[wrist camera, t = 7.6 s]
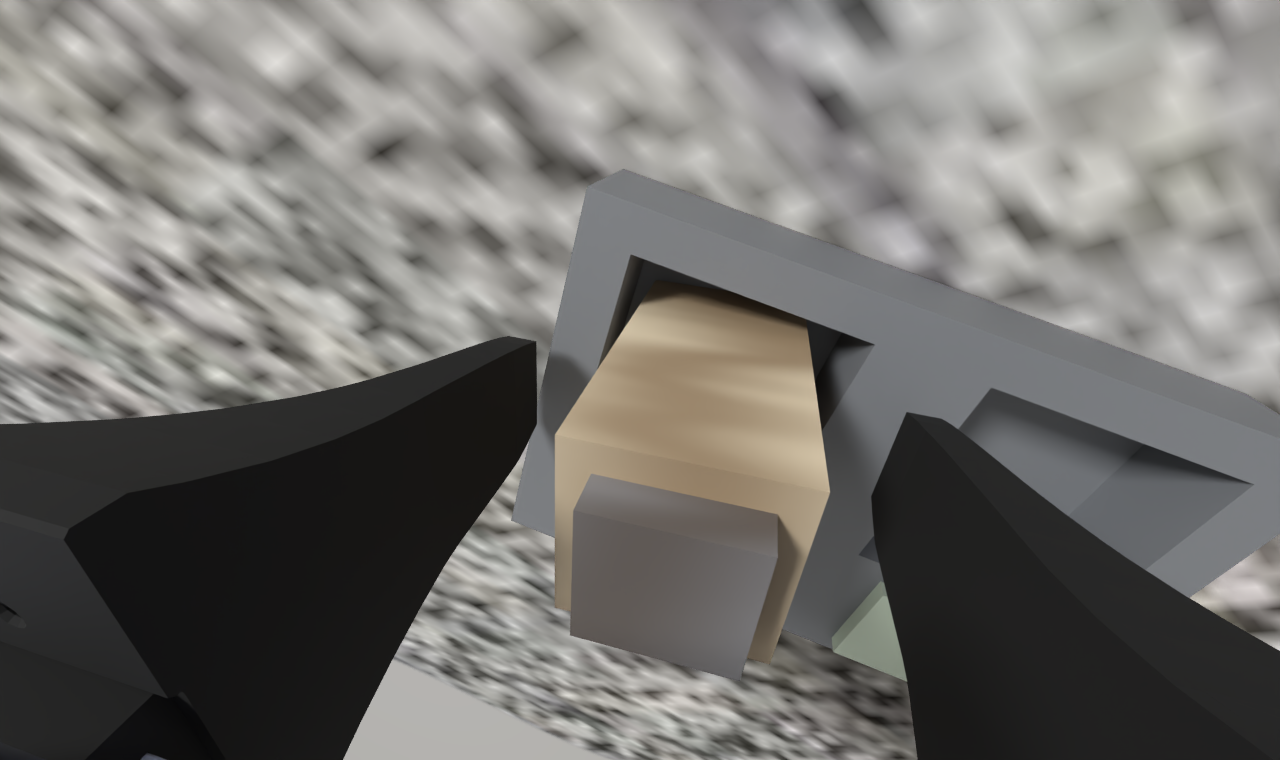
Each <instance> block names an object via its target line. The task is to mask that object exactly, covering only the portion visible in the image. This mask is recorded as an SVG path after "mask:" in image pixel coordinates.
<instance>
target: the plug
mask: <svg viewBox="0 0 1280 760" xmlns="http://www.w3.org/2000/svg"><path fill="white" fill-rule="evenodd" d="M829 494H830V488H829V480H828V473H827V466H826V459H825V452H824V445H823V437H822V430H821V423H820V416H819V409H818V402H817V395H816V387H815V380H814V373H813V366H812V359H811V352H810V344H809V337H808V330H807V323H806V319H805V318H802V317H799V316H796V315H794V314H791V313H788V312H786V311H783V310H780V309H778V308H775V307H772V306H769V305H767V304H764V303H761V302H759V301H756V300H753V299H750V298H748V297H745V296H742V295H740V294H737V293H734V292H731V291H725V290H719V289H712V288H706V287H699V286H693V285H687V284H680V283H674V282H667V281H661V280H656V281H655V282H654V284H653V285H652V287H651V288H650V290H649V291H648V293H647V294H646V296H645V297H644V299H643V300H642V302H641V304H640V305H639V307H638V308H637V310H636V311H635V313H634V314H633V316H632V317H631V319H630V320H629V322H628V323H627V325H626V327H625V328H624V330H623V331H622V333H621V334H620V336H619V337H618V339H617V340H616V342H615V343H614V345H613V346H612V348H611V350H610V351H609V353H608V354H607V356H606V357H605V359H604V360H603V362H602V363H601V365H600V366H599V368H598V369H597V371H596V373H595V374H594V376H593V377H592V379H591V380H590V382H589V383H588V385H587V386H586V388H585V389H584V391H583V392H582V394H581V396H580V397H579V399H578V400H577V402H576V403H575V405H574V406H573V408H572V409H571V411H570V412H569V414H568V415H567V417H566V419H565V420H564V422H563V423H562V425H561V426H560V428H559V429H558V431H557V432H556V434H555V608H559V609H563V610H567V611H571V622H570V635H571V636H575V637H579V638H582V639H586V640H590V641H593V642H597V643H601V644H604V645H608V646H612V647H615V648H619V649H623V650H626V651H630V652H634V653H637V654H641V655H645V656H648V657H652V658H656V659H659V660H663V661H667V662H670V663H674V664H678V665H681V666H685V667H689V668H693V669H696V670H700V671H704V672H707V673H711V674H715V675H718V676H722V677H726V678H729V679H733V680H737V681H740V678H741V675H742V672H743V669H744V665H745V662H746V659H747V658H748V659H752V660H756V661H760V662H763V663H767V664H770V662H771V659H772V656H773V654H774V651H775V648H776V645H777V642H778V639H779V637H780V634H781V631H782V628H783V625H784V622H785V620H786V617H787V614H788V611H789V608H790V605H791V602H792V600H793V597H794V594H795V591H796V588H797V585H798V583H799V580H800V577H801V574H802V571H803V568H804V565H805V563H806V560H807V557H808V554H809V551H810V548H811V546H812V543H813V540H814V537H815V534H816V531H817V528H818V526H819V523H820V520H821V517H822V514H823V511H824V509H825V506H826V503H827V500H828V497H829Z"/></svg>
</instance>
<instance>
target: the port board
mask: <svg viewBox="0 0 1280 760" xmlns="http://www.w3.org/2000/svg"><path fill="white" fill-rule="evenodd" d="M656 280H661V281H667V282H674V283H680V284H687V285H693V286H699V287H706V288H712V289H719V290H725V291H731V292H734V293H737V294H740V295H742V296H745V297H748V298H750V299H753V300H756V301H759V302H761V303H764V304H767V305H769V306H772V307H775V308H778V309H780V310H783V311H786V312H788V313H791V314H794V315H796V316H799V317H802V318H805V319H806V323H807V330H808V337H809V344H810V352H811V359H812V366H813V373H814V380H815V387H816V395H817V402H818V409H819V416H820V423H821V430H822V437H823V445H824V452H825V459H826V466H827V473H828V480H829V488H830V494H829V497H828V500H827V503H826V506H825V509H824V511H823V514H822V517H821V520H820V523H819V526H818V528H817V531H816V534H815V537H814V540H813V543H812V546H811V548H810V551H809V554H808V557H807V560H806V563H805V565H804V568H803V571H802V574H801V577H800V580H799V583H798V585H797V588H796V591H795V594H794V597H793V600H792V602H791V605H790V608H789V611H788V614H787V617H786V620H785V622H784V625H783V628H782V629H783V630H785V631H788V632H790V633H793V634H795V635H798V636H800V637H803V638H805V639H808V640H810V641H813V642H815V643H818V644H820V645H823V646H825V647H828V648H830V649H833V652H834V653H837V654H839V655H842V656H844V657H847V658H849V659H852V660H854V661H857V662H859V663H862V664H864V665H867V666H869V667H872V668H874V669H877V670H879V671H882V672H884V673H887V674H889V675H892V676H894V677H896V678H899V679H901V680H904V681H906V682H907V678H906V673H905V668H904V663H903V659H902V655H901V650H900V646H899V642H898V638H897V634H896V630H895V626H894V622H893V618H892V614H891V609H890V605H889V601H888V597H887V593H886V589H885V585H884V581H883V576H882V572H881V568H880V564H879V559H878V555H877V551H876V546H875V539H874V529H873V518H872V503H871V495H872V493H873V490H874V488H875V486H876V483H877V481H878V479H879V476H880V474H881V471H882V469H883V467H884V464H885V462H886V460H887V457H888V455H889V452H890V450H891V448H892V445H893V443H894V441H895V438H896V436H897V433H898V431H899V429H900V426H901V424H902V422H903V419H904V417H905V414H906V412H909V413H915V414H920V415H925V416H930V417H936V418H941V419H943V420H945V421H947V422H948V423H950V424H951V425H953V426H954V427H955V428H957V429H958V430H960V431H961V432H962V433H964V434H965V435H966V436H967V437H969V438H970V439H971V440H973V441H974V442H975V443H976V444H978V445H979V446H980V447H981V448H983V449H984V450H985V451H986V452H988V453H989V454H990V455H991V456H992V457H994V458H995V459H996V460H997V461H999V462H1000V463H1001V464H1002V465H1004V466H1005V467H1006V468H1007V469H1009V470H1010V471H1011V472H1012V473H1013V474H1015V475H1016V476H1017V477H1018V478H1020V479H1021V480H1022V481H1023V482H1025V483H1026V484H1027V485H1028V486H1030V487H1031V488H1032V489H1034V490H1035V491H1036V492H1037V493H1039V494H1040V495H1041V496H1042V497H1044V498H1045V499H1046V500H1048V501H1049V502H1050V503H1052V504H1053V505H1054V506H1056V507H1057V508H1058V509H1059V510H1061V511H1062V512H1063V513H1065V514H1066V515H1067V516H1069V517H1070V518H1072V519H1073V520H1074V521H1076V522H1077V523H1078V524H1080V525H1081V526H1083V527H1084V528H1085V529H1087V530H1088V531H1089V532H1091V533H1092V534H1093V535H1095V536H1096V537H1098V538H1099V539H1100V540H1102V541H1103V542H1105V543H1106V544H1107V545H1109V546H1110V547H1112V548H1113V549H1115V550H1116V551H1118V552H1119V553H1120V554H1122V555H1123V556H1125V557H1126V558H1128V559H1129V560H1131V561H1132V562H1134V563H1135V564H1137V565H1139V566H1140V567H1142V568H1143V569H1145V570H1146V571H1148V572H1149V573H1151V574H1152V575H1154V576H1156V577H1157V578H1159V579H1160V580H1162V581H1163V582H1165V583H1166V584H1168V585H1169V586H1171V587H1173V588H1174V589H1176V590H1177V591H1179V592H1180V593H1182V594H1183V595H1185V596H1187V597H1188V598H1189V597H1191V596H1192V595H1194V594H1195V593H1196V592H1198V591H1199V590H1201V589H1202V588H1204V587H1205V586H1206V585H1208V584H1209V583H1211V582H1212V581H1213V580H1215V579H1216V578H1218V577H1219V576H1221V575H1222V574H1223V573H1225V572H1226V571H1228V570H1229V569H1230V568H1232V567H1233V566H1235V565H1236V564H1238V563H1239V562H1240V561H1242V560H1243V559H1245V558H1246V557H1247V556H1249V555H1250V554H1252V553H1253V552H1254V551H1256V550H1257V549H1259V548H1260V547H1262V546H1263V545H1264V544H1266V543H1267V542H1269V541H1270V540H1271V539H1273V538H1274V537H1276V536H1277V535H1279V534H1280V415H1279V414H1278V413H1276V412H1274V411H1273V410H1271V409H1270V408H1268V407H1266V406H1265V405H1263V404H1262V403H1260V402H1258V401H1257V400H1255V399H1254V398H1252V397H1251V396H1249V395H1247V394H1245V393H1243V392H1240V391H1237V390H1234V389H1231V388H1229V387H1226V386H1223V385H1220V384H1218V383H1215V382H1212V381H1209V380H1207V379H1204V378H1201V377H1198V376H1195V375H1193V374H1190V373H1187V372H1184V371H1182V370H1179V369H1176V368H1173V367H1171V366H1168V365H1165V364H1162V363H1159V362H1157V361H1154V360H1151V359H1148V358H1146V357H1143V356H1140V355H1137V354H1134V353H1132V352H1129V351H1126V350H1123V349H1121V348H1118V347H1115V346H1112V345H1110V344H1107V343H1104V342H1101V341H1098V340H1096V339H1093V338H1090V337H1087V336H1085V335H1082V334H1079V333H1076V332H1074V331H1071V330H1068V329H1065V328H1062V327H1060V326H1057V325H1054V324H1051V323H1049V322H1046V321H1043V320H1040V319H1038V318H1035V317H1032V316H1029V315H1026V314H1024V313H1021V312H1018V311H1015V310H1013V309H1010V308H1007V307H1004V306H1002V305H999V304H996V303H993V302H990V301H988V300H985V299H982V298H979V297H977V296H974V295H971V294H968V293H965V292H963V291H960V290H957V289H954V288H952V287H949V286H946V285H943V284H941V283H938V282H935V281H932V280H929V279H927V278H924V277H921V276H918V275H916V274H913V273H910V272H907V271H905V270H902V269H899V268H896V267H893V266H891V265H888V264H885V263H882V262H880V261H877V260H874V259H871V258H869V257H866V256H863V255H860V254H857V253H855V252H852V251H849V250H846V249H844V248H841V247H838V246H835V245H833V244H830V243H827V242H824V241H821V240H819V239H816V238H813V237H810V236H808V235H805V234H802V233H799V232H796V231H794V230H791V229H788V228H785V227H783V226H780V225H777V224H774V223H772V222H769V221H766V220H763V219H760V218H758V217H755V216H752V215H749V214H747V213H744V212H741V211H738V210H736V209H733V208H730V207H727V206H724V205H722V204H719V203H716V202H713V201H711V200H708V199H705V198H702V197H700V196H697V195H694V194H691V193H688V192H686V191H683V190H680V189H677V188H675V187H672V186H669V185H666V184H664V183H661V182H658V181H655V180H652V179H650V178H647V177H644V176H641V175H639V174H636V173H633V172H630V171H627V170H625V169H623V170H621V171H619V172H616V173H614V174H612V175H610V176H608V177H606V178H604V179H602V180H600V181H598V182H595V183H593V184H591V185H589V186H587V190H586V194H585V199H584V203H583V207H582V212H581V216H580V220H579V225H578V229H577V234H576V238H575V242H574V247H573V251H572V256H571V260H570V264H569V269H568V273H567V278H566V282H565V286H564V291H563V295H562V300H561V304H560V308H559V313H558V317H557V322H556V326H555V330H554V335H553V339H552V344H551V348H550V352H549V357H548V361H547V365H546V370H545V374H544V379H543V383H542V387H541V392H540V396H539V401H538V405H537V425H536V427H535V429H534V431H533V433H532V435H531V437H530V440H529V445H528V449H527V453H526V458H525V462H524V467H523V471H522V475H521V480H520V484H519V488H518V493H517V497H516V502H515V506H514V510H513V515H512V519H511V521H514V522H516V523H519V524H521V525H524V526H526V527H529V528H531V529H534V530H536V531H539V532H541V533H544V534H546V535H549V536H551V537H554V538H555V434H556V432H557V431H558V429H559V428H560V426H561V425H562V423H563V422H564V420H565V419H566V417H567V415H568V414H569V412H570V411H571V409H572V408H573V406H574V405H575V403H576V402H577V400H578V399H579V397H580V396H581V394H582V392H583V391H584V389H585V388H586V386H587V385H588V383H589V382H590V380H591V379H592V377H593V376H594V374H595V373H596V371H597V369H598V368H599V366H600V365H601V363H602V362H603V360H604V359H605V357H606V356H607V354H608V353H609V351H610V350H611V348H612V346H613V345H614V343H615V342H616V340H617V339H618V337H619V336H620V334H621V333H622V331H623V330H624V328H625V327H626V325H627V323H628V322H629V320H630V319H631V317H632V316H633V314H634V313H635V311H636V310H637V308H638V307H639V305H640V304H641V302H642V300H643V299H644V297H645V296H646V294H647V293H648V291H649V290H650V288H651V287H652V285H653V284H654V282H655V281H656Z"/></svg>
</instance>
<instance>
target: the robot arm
mask: <svg viewBox="0 0 1280 760" xmlns="http://www.w3.org/2000/svg"><path fill="white" fill-rule="evenodd" d="M536 425H537V368H536V341H531V340H526V339H521V338H516V337H510V336H507V337H502V338H497V339H494V340H490V341H487V342H484V343H481V344H478V345H475V346H472V347H469V348H466V349H463V350H460V351H457V352H454V353H451V354H448V355H445V356H442V357H439V358H437V359H434V360H431V361H428V362H425V363H422V364H419V365H416V366H412V367H409V368H406V369H402V370H399V371H396V372H393V373H389V374H386V375H383V376H380V377H376V378H373V379H370V380H366V381H362V382H359V383H355V384H351V385H347V386H343V387H339V388H334V389H330V390H325V391H321V392H316V393H312V394H307V395H302V396H297V397H292V398H286V399H280V400H274V401H268V402H262V403H255V404H249V405H243V406H237V407H231V408H224V409H216V410H208V411H199V412H191V413H182V414H171V415H161V416H150V417H139V418H125V419H112V420H92V421H71V422H50V423H29V424H0V760H343V758H344V756H345V754H346V752H347V750H348V748H349V746H350V743H351V741H352V739H353V737H354V735H355V733H356V731H357V729H358V727H359V724H360V722H361V720H362V718H363V716H364V714H365V712H366V710H367V708H368V707H369V705H370V702H371V700H372V699H373V697H374V695H375V692H376V691H377V689H378V687H379V685H380V683H381V681H382V679H383V676H384V675H385V673H386V671H387V669H388V667H389V665H390V663H391V661H392V659H393V657H394V655H395V654H396V652H397V650H398V648H399V646H400V644H401V642H402V641H403V639H404V637H405V635H406V633H407V631H408V629H409V628H410V626H411V624H412V622H413V620H414V618H415V617H416V615H417V613H418V611H419V609H420V607H421V606H422V604H423V602H424V600H425V599H426V597H427V595H428V593H429V592H430V590H431V588H432V586H433V585H434V583H435V581H436V579H437V578H438V576H439V574H440V572H441V571H442V569H443V567H444V566H445V564H446V562H447V561H448V559H449V558H450V556H451V555H452V553H453V552H454V550H455V549H456V547H457V546H458V544H459V543H460V541H461V540H462V539H463V537H464V536H465V535H466V533H467V532H468V530H469V529H470V528H471V526H472V525H473V524H474V522H475V521H476V519H477V518H478V517H479V515H480V514H481V513H482V511H483V510H484V508H485V507H486V506H487V504H488V503H489V501H490V500H491V499H492V497H493V496H494V495H495V493H496V492H497V490H498V489H499V488H500V486H501V485H502V483H503V482H504V481H505V479H506V478H507V476H508V475H509V474H510V472H511V471H512V469H513V468H514V466H515V465H516V463H517V462H518V460H519V458H520V457H521V455H522V453H523V451H524V449H525V447H526V445H527V443H528V441H529V439H530V437H531V435H532V433H533V431H534V429H535V427H536ZM871 503H872V518H873V529H874V539H875V546H876V551H877V555H878V559H879V564H880V568H881V572H882V576H883V581H884V585H885V589H886V593H887V597H888V601H889V605H890V609H891V614H892V618H893V622H894V626H895V630H896V634H897V638H898V642H899V646H900V650H901V655H902V659H903V663H904V668H905V673H906V678H907V684H908V689H909V696H910V704H911V711H912V719H913V726H914V734H915V741H916V749H917V757H918V760H1280V651H1279V650H1277V649H1275V648H1273V647H1272V646H1270V645H1268V644H1266V643H1265V642H1263V641H1261V640H1259V639H1258V638H1256V637H1254V636H1252V635H1251V634H1249V633H1247V632H1246V631H1244V630H1242V629H1240V628H1239V627H1237V626H1235V625H1233V624H1232V623H1230V622H1228V621H1226V620H1225V619H1223V618H1221V617H1220V616H1218V615H1216V614H1215V613H1213V612H1211V611H1210V610H1208V609H1206V608H1205V607H1203V606H1201V605H1200V604H1198V603H1196V602H1195V601H1193V600H1191V599H1190V598H1188V597H1187V596H1185V595H1183V594H1182V593H1180V592H1179V591H1177V590H1176V589H1174V588H1173V587H1171V586H1169V585H1168V584H1166V583H1165V582H1163V581H1162V580H1160V579H1159V578H1157V577H1156V576H1154V575H1152V574H1151V573H1149V572H1148V571H1146V570H1145V569H1143V568H1142V567H1140V566H1139V565H1137V564H1135V563H1134V562H1132V561H1131V560H1129V559H1128V558H1126V557H1125V556H1123V555H1122V554H1120V553H1119V552H1118V551H1116V550H1115V549H1113V548H1112V547H1110V546H1109V545H1107V544H1106V543H1105V542H1103V541H1102V540H1100V539H1099V538H1098V537H1096V536H1095V535H1093V534H1092V533H1091V532H1089V531H1088V530H1087V529H1085V528H1084V527H1083V526H1081V525H1080V524H1078V523H1077V522H1076V521H1074V520H1073V519H1072V518H1070V517H1069V516H1067V515H1066V514H1065V513H1063V512H1062V511H1061V510H1059V509H1058V508H1057V507H1056V506H1054V505H1053V504H1052V503H1050V502H1049V501H1048V500H1046V499H1045V498H1044V497H1042V496H1041V495H1040V494H1039V493H1037V492H1036V491H1035V490H1034V489H1032V488H1031V487H1030V486H1028V485H1027V484H1026V483H1025V482H1023V481H1022V480H1021V479H1020V478H1018V477H1017V476H1016V475H1015V474H1013V473H1012V472H1011V471H1010V470H1009V469H1007V468H1006V467H1005V466H1004V465H1002V464H1001V463H1000V462H999V461H997V460H996V459H995V458H994V457H992V456H991V455H990V454H989V453H988V452H986V451H985V450H984V449H983V448H981V447H980V446H979V445H978V444H976V443H975V442H974V441H973V440H971V439H970V438H969V437H967V436H966V435H965V434H964V433H962V432H961V431H960V430H958V429H957V428H955V427H954V426H953V425H951V424H950V423H948V422H947V421H945V420H943V419H941V418H936V417H930V416H925V415H920V414H915V413H909V412H906V414H905V417H904V419H903V422H902V424H901V426H900V429H899V431H898V433H897V436H896V438H895V441H894V443H893V445H892V448H891V450H890V452H889V455H888V457H887V460H886V462H885V464H884V467H883V469H882V471H881V474H880V476H879V479H878V481H877V483H876V486H875V488H874V490H873V493H872V495H871Z"/></svg>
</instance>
